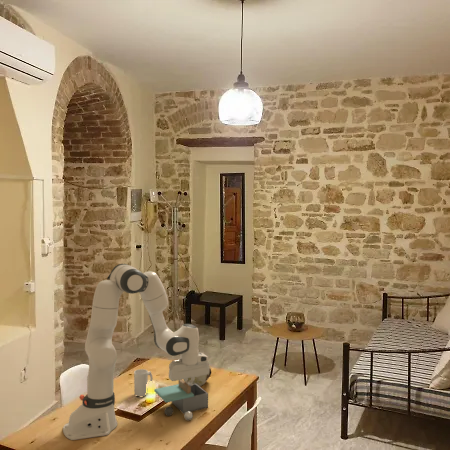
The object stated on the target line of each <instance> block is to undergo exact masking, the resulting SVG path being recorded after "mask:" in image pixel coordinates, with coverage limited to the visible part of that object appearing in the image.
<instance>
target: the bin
mask: <svg viewBox="0 0 450 450" xmlns="http://www.w3.org/2000/svg"><path fill="white" fill-rule="evenodd" d="M190 387H191V392H192V393H193V394H194V397H189V398H185V399H180V400H176V401H171V403H172V404H173V405H174V406H175V407H176V409H178V411H180V412H181V413H182V414H183V415H184V413H185V412H186V411H191V412H192V413H193V412H195V411H200V410H203V409H208V408H209V393H208V392H207V391H206V390H204V389H203V388H202V387H201V386H198V385H197V384H193V386H190Z"/></svg>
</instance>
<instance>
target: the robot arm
mask: <svg viewBox="0 0 450 450" xmlns="http://www.w3.org/2000/svg"><path fill="white" fill-rule="evenodd" d="M124 292H125V293H127V294H130V295H131V294H137V293H139V294H140V298H141V301H142V303H143V305H144V307H145V309H146V311H147V313H148V317H149V319H150V323H151V325H152V328H153V332H154V333H153V341H154V344H155V346H156V347H157V348H158V349H160V350H162V351H163V352H165V353H166V354H168V355H170V356H174V357H175V356H180V357H179V359H177V360H175V359H174V360H172V361H170V362H169V365H168V379H169V380H170V381H172V382H176V381H179V380H183V381H184V382H186V383H187V384H188V385H189V386H193V381H194V380H195V377H197V376H202V375H207V374H208V373H209V366H210V361H209V356H207V355H206V354H205V353H203V352H200V350H199V344H200V333H199V328H198V327H197V325H194V324H191V323H184V324H182V325H181V326H180V327H179V328H178V329H177V330H175V331H172V329H170V328H169V327H168V325H167V323H166V319H165V317H164V314H163V313H164V311H166V309H167V307H168V305H169V298H168V294H167V291H166V289H165V287H164V284H163V282H162V280H161V279H160V277H159V275H158V274H157V273H156V272H155V271H148V270H147V271H145V272H142V271H141V270H139V269H137V268H136V267H135V266H133V265H130V264H127V263H119V264H117V265H115V266H114V267H113V268H112V270H111V271H110V273H109V275H108V276H107V279H104V280H101V281H99V282H98V283H97V284H96V286H95V290H94V294H93V299H92V306H91V312H90V313H91V315H90V321H89V326H88V330H87V335H86V339H85V343H84V351H85V354H86V355H87V359H88V363H89V365H88V372H87V377H86V385H87V386H86V390H87V391H86V395H84V394H80V396H78V397H79V400H80V401H82V404H81V405H80V406H78V407H77V408H76V409H74V411H72V412H71V413H70V415H69V418H68V423H65V424H64V425H63V427H62V432H63V435H64V436H65V437H66V438H67V439H68V440H70V441H75V440H83V439H88V438H89V439H90V438H96V437H103V436H108V435H110V433H111V432H112V431H113V430H115V429H116V428H117V426H118V421H117V417H116V413H115V405H116V404H115V403H116V396H115V395H116V394H115V392H114V380H115V379H114V378H115V377H114V374H115V369H116V362H117V359H118V358H117V357H118V355H117V350H116V347H115V346H114V344H113V342H112V341H113V340H112V339H113V335H114V331H115V328H116V327H117V324H118V323H117V322H118V316H119V307H120V299H121V296H122V295H123V293H124ZM188 378H191V380H190V382H188V381H187V380H188Z"/></svg>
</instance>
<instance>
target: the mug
mask: <svg viewBox="0 0 450 450" xmlns="http://www.w3.org/2000/svg"><path fill="white" fill-rule="evenodd" d="M148 377H149V378H148ZM133 378H134V379H133V380H134V381H133V384H134V386H133V389H134V391H133V393H134V396H135V395H137V396H145V393H146V384H147V382H148V380H149V379H150V380H149V382H150V381H152V382H153V378H154V377H153V374H152V372H151V371H148V370H147V369H145V368H144V369H143V368H141V369H135V370H134V371H133ZM149 382H148V383H149ZM145 397H146V396H145Z"/></svg>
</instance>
